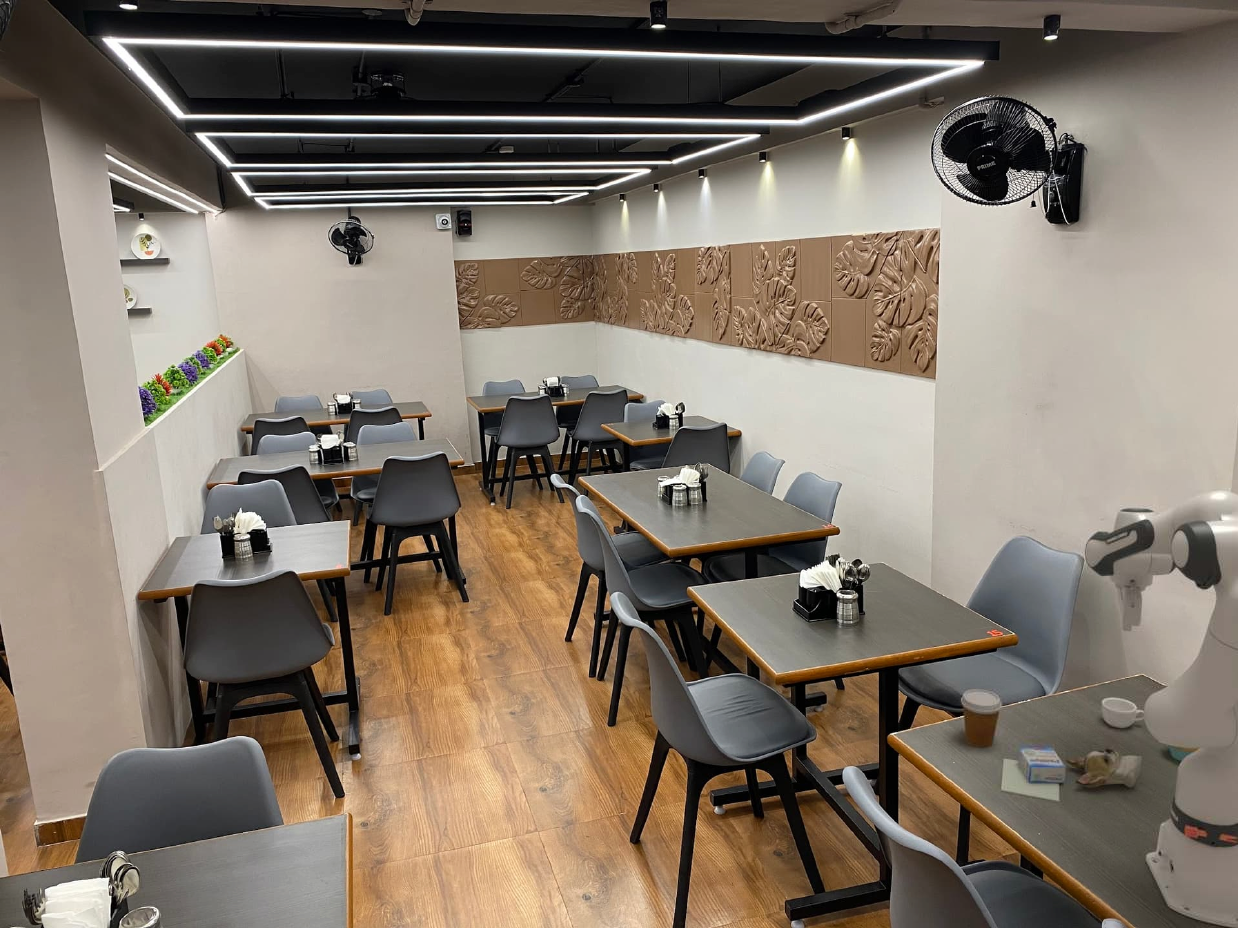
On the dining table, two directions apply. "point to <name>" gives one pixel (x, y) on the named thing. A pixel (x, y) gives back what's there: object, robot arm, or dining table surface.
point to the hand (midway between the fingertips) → (1126, 628)
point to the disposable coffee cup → (980, 716)
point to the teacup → (1119, 712)
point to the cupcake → (1181, 752)
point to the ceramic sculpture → (1107, 768)
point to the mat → (1026, 783)
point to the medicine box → (1041, 765)
